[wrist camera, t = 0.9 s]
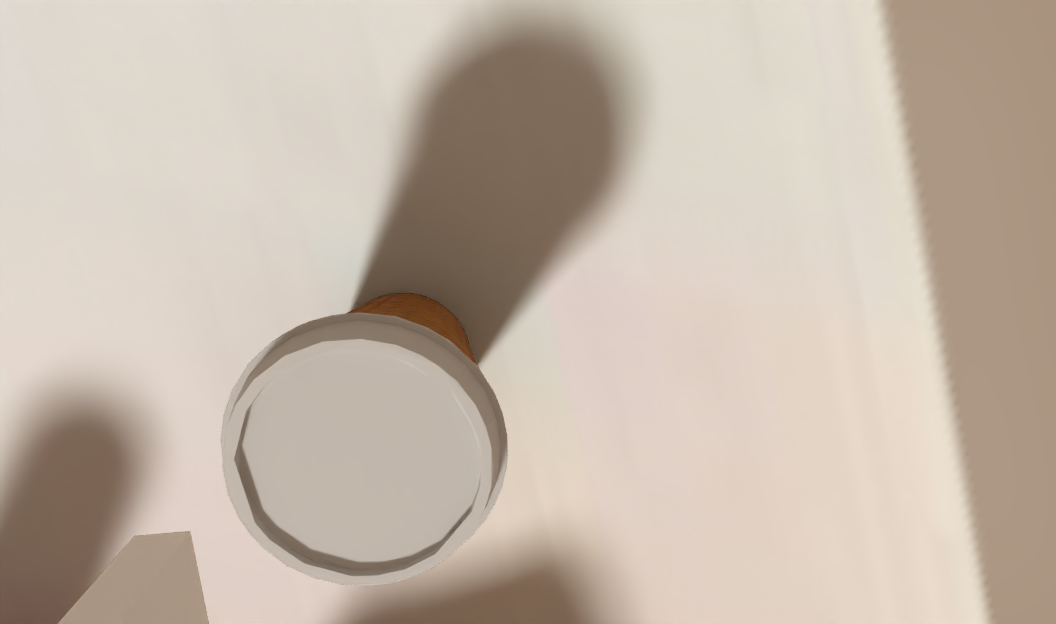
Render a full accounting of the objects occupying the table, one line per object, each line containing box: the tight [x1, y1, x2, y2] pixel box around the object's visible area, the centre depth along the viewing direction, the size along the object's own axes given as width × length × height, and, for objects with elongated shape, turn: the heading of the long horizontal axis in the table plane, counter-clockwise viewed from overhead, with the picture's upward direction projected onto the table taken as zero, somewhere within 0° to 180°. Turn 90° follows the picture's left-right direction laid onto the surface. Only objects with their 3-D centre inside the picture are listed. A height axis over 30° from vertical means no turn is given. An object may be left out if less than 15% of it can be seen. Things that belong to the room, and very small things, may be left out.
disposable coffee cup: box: [221, 293, 508, 586], centre depth 29 cm, size 10×10×12 cm
